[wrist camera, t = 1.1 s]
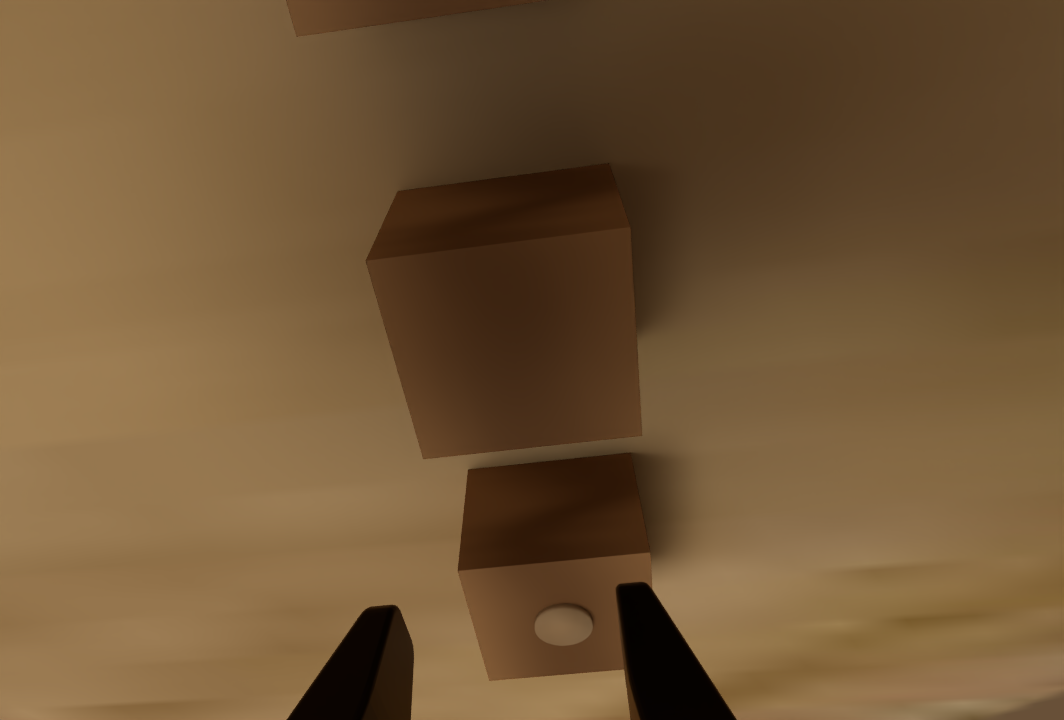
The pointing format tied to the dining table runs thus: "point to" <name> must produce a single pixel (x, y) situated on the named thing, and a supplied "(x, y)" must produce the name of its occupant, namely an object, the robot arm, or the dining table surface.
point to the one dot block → (551, 563)
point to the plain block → (511, 311)
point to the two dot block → (377, 12)
